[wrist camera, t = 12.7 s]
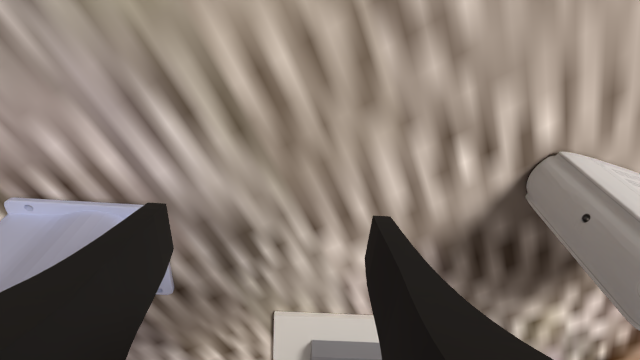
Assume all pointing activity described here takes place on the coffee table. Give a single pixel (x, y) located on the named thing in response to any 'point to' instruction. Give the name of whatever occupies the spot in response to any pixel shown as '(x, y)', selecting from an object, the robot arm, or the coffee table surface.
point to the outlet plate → (325, 336)
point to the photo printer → (594, 221)
